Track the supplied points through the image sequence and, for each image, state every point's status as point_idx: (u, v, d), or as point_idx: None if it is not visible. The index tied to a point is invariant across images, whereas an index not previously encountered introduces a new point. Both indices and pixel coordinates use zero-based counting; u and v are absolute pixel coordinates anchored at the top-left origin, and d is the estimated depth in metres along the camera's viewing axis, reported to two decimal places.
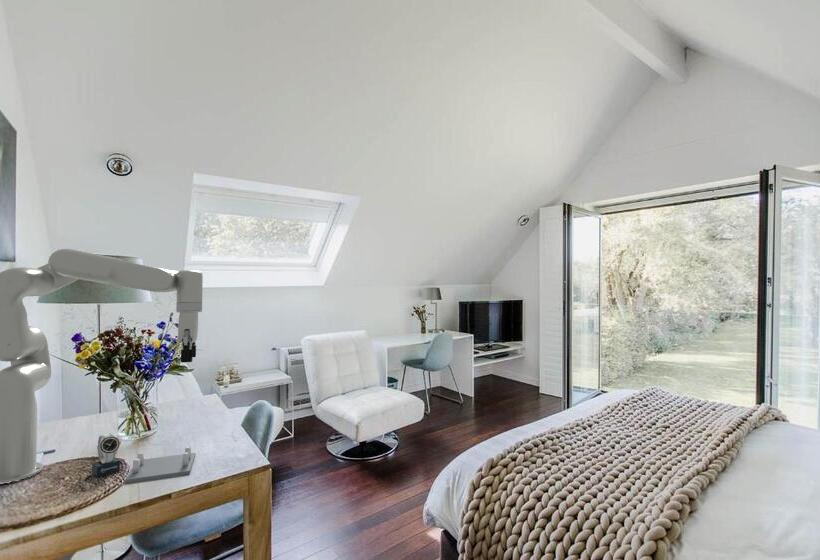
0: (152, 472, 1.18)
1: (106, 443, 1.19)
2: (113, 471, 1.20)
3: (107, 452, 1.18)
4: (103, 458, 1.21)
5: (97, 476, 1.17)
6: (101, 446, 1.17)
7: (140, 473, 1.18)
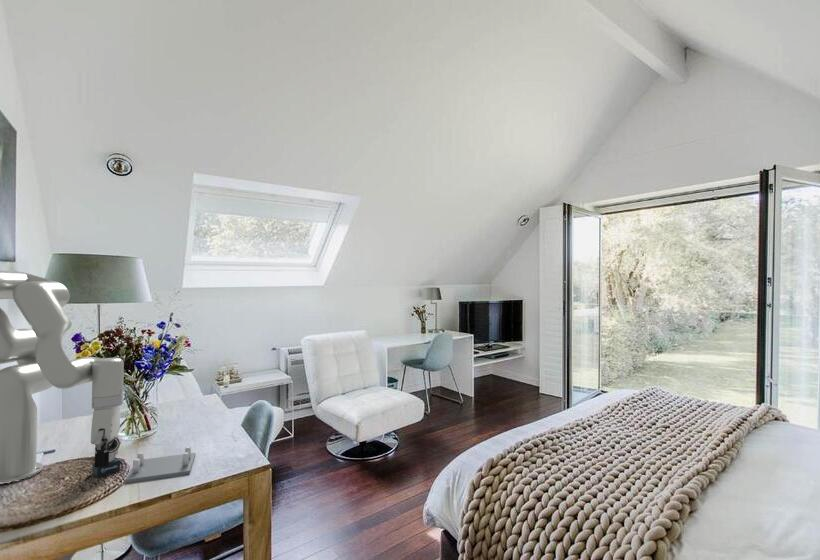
0: (152, 472, 1.18)
1: None
2: (113, 471, 1.20)
3: None
4: None
5: (97, 476, 1.17)
6: None
7: (140, 473, 1.18)
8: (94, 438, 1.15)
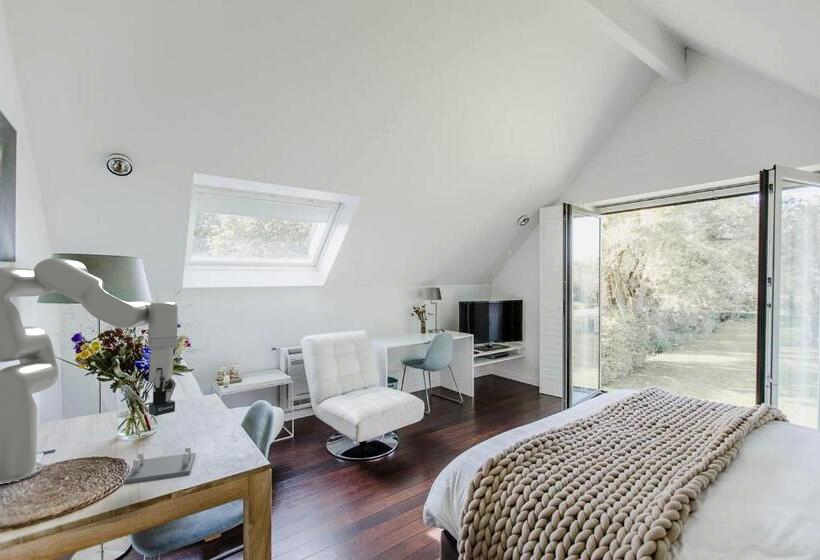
0: (152, 472, 1.18)
1: None
2: (169, 411, 1.23)
3: None
4: None
5: (155, 414, 1.20)
6: None
7: (140, 473, 1.18)
8: (152, 377, 1.18)
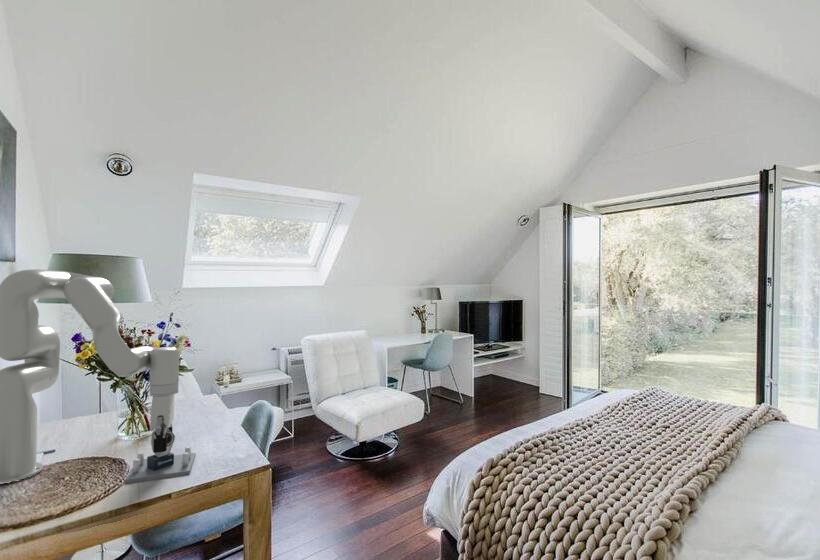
0: (152, 472, 1.18)
1: None
2: (168, 464, 1.23)
3: None
4: (157, 452, 1.23)
5: (154, 469, 1.19)
6: None
7: (140, 473, 1.18)
8: (153, 425, 1.18)
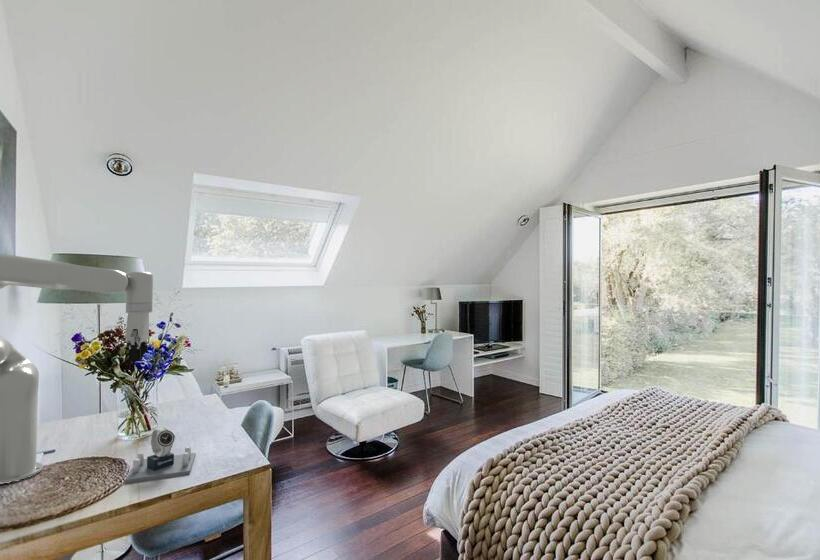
0: (152, 472, 1.18)
1: (163, 436, 1.21)
2: (168, 464, 1.23)
3: (164, 445, 1.20)
4: (157, 452, 1.23)
5: (154, 469, 1.19)
6: (158, 440, 1.20)
7: (140, 473, 1.18)
8: (129, 337, 1.33)
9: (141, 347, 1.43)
